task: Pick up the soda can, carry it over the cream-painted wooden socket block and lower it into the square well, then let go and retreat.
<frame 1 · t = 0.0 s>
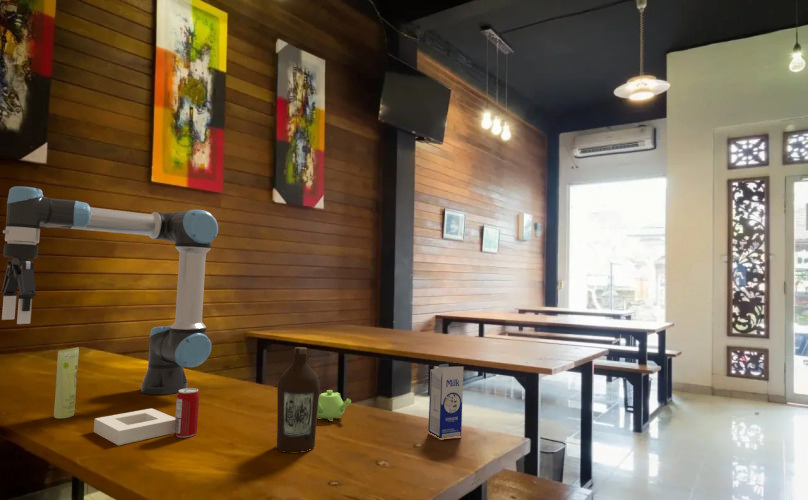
hand: (15, 321, 137), 28 cm above the table, fingers open, 13 cm apart
soda can: (185, 435, 134), on the table
olive oil: (295, 448, 128), on the table
teapot: (327, 419, 154), on the table
milk carton: (444, 436, 141), on the table
tube: (63, 417, 146), on the table
socket block: (135, 432, 135), on the table
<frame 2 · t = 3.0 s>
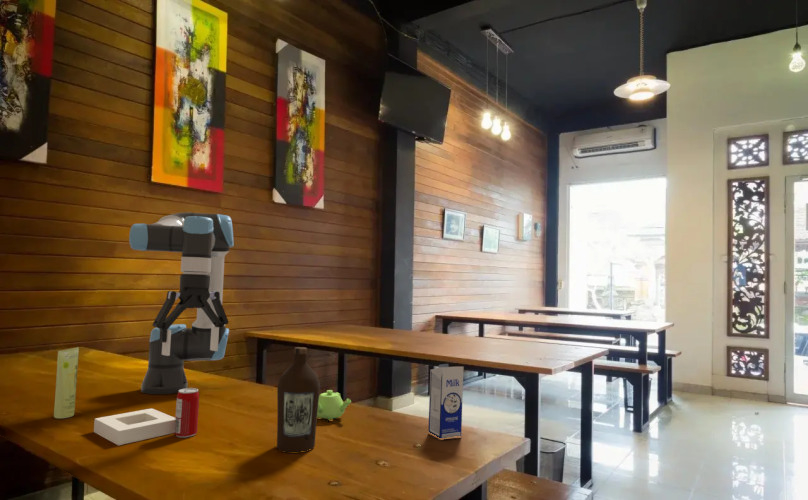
hand: (190, 352, 135), 22 cm above the table, fingers open, 13 cm apart
nothing on the table moved.
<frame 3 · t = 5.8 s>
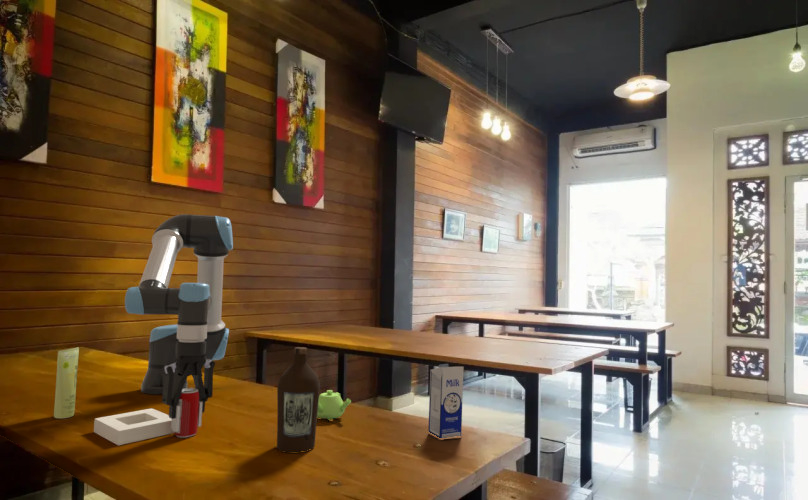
hand: (186, 427, 134), 2 cm above the table, fingers closed on soda can, 5 cm apart
soda can: (185, 435, 134), on the table, touching gripper
everything else where it was.
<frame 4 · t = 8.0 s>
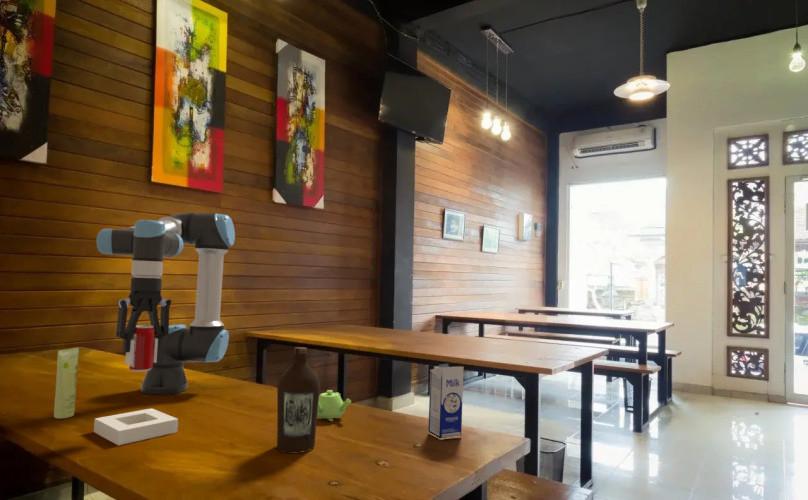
hand: (141, 363, 136), 18 cm above the table, fingers closed on soda can, 5 cm apart
soda can: (140, 370, 135), point 16 cm above the table, touching gripper
everything else where it was.
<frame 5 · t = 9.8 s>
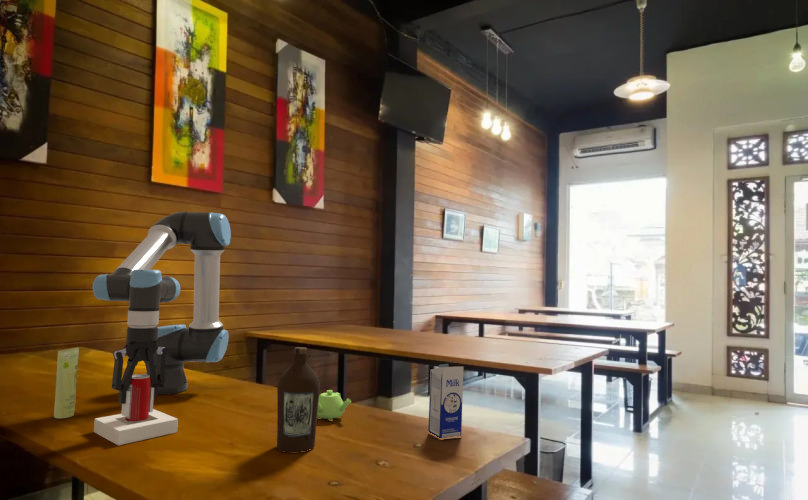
hand: (137, 413, 135), 5 cm above the table, fingers closed on soda can, 5 cm apart
soda can: (136, 421, 135), point 3 cm above the table, touching gripper
everything else where it was.
when the fingers open (5 cm above the table, at t = 10.5 s): soda can drops 2 cm, resting on socket block.
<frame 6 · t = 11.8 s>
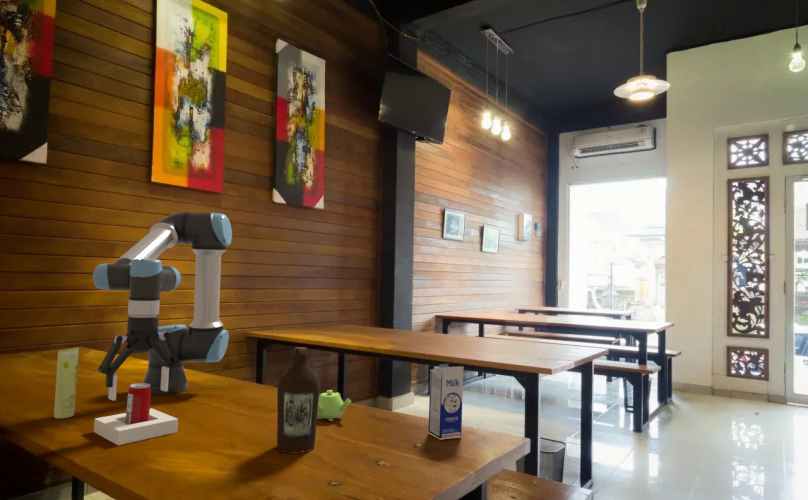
hand: (139, 394, 136), 10 cm above the table, fingers open, 13 cm apart
soda can: (136, 430, 135), resting on socket block
everything else where it was.
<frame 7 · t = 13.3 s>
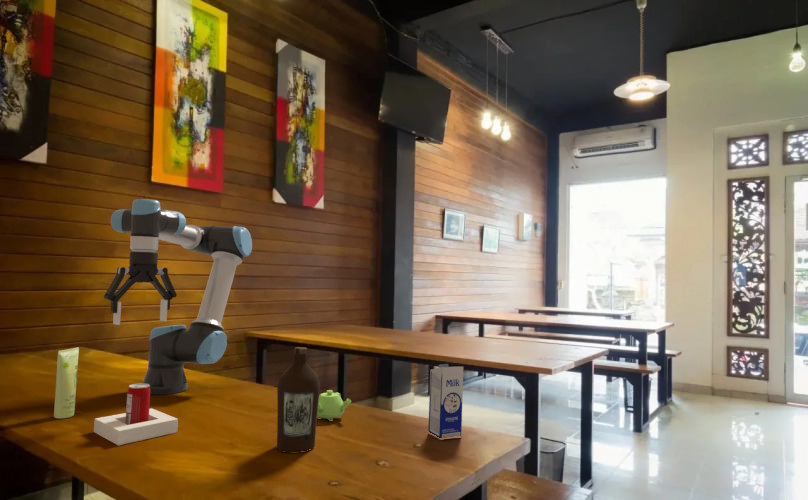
hand: (140, 322, 150), 28 cm above the table, fingers open, 13 cm apart
nothing on the table moved.
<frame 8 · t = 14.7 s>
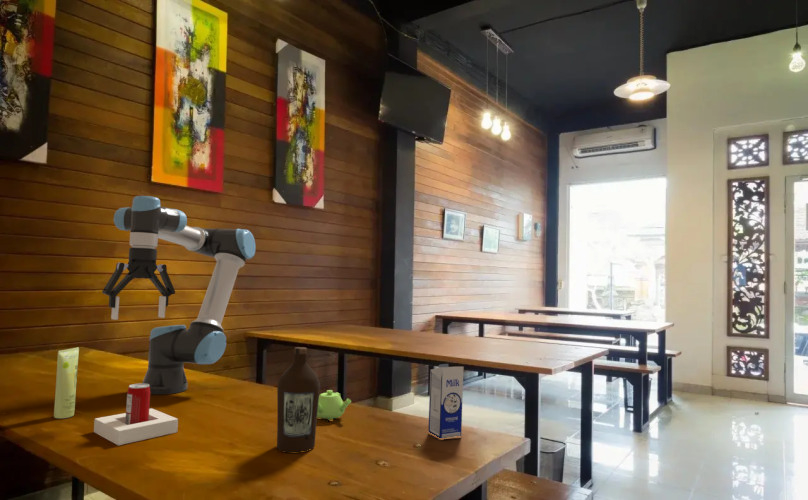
hand: (138, 318, 151), 29 cm above the table, fingers open, 13 cm apart
nothing on the table moved.
at the end: soda can 0.1 cm off-centre on the socket block, point 0.4 cm above the socket block's base; soda can tilted 0°; the gripper is holding nothing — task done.
